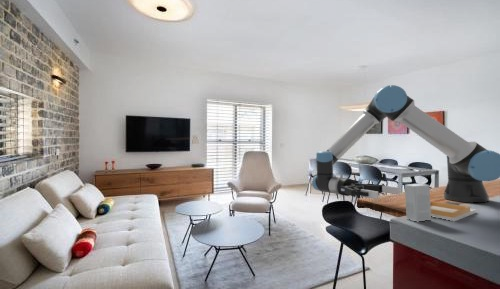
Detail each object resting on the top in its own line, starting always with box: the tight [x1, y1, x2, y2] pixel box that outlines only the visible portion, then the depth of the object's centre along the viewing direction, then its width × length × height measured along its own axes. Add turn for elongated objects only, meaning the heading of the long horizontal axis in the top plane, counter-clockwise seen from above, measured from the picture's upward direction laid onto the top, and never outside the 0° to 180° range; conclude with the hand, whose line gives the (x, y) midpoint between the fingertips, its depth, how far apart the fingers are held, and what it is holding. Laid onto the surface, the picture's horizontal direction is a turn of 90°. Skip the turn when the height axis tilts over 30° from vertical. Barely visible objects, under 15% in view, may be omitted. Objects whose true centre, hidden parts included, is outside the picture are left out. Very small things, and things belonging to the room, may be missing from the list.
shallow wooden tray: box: [430, 200, 477, 223], centre depth 90 cm, size 18×13×3 cm
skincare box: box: [404, 183, 432, 221], centre depth 83 cm, size 6×4×12 cm
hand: (389, 193), depth 92 cm, fingers open, 13 cm apart
